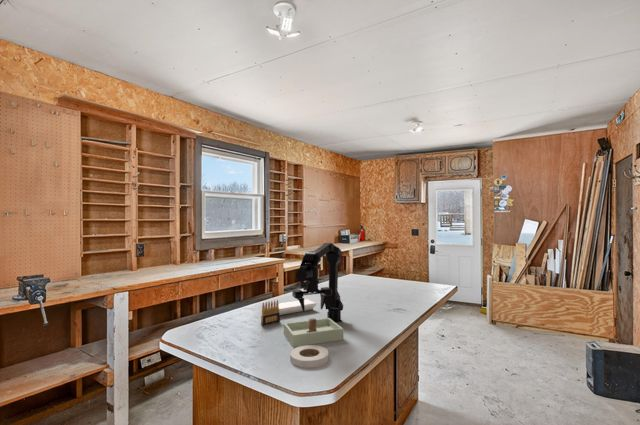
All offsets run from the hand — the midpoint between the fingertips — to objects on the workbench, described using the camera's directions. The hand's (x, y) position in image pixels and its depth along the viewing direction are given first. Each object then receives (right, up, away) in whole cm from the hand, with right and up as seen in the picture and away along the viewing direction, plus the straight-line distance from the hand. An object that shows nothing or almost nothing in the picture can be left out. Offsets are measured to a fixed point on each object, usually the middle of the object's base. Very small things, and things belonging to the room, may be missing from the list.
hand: (312, 310), depth 155 cm
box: (0, -12, -3) cm, 12 cm away
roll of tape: (-1, -11, -28) cm, 30 cm away
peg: (0, -12, -3) cm, 12 cm away
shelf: (-14, -14, +38) cm, 42 cm away
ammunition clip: (-23, -13, +17) cm, 32 cm away
